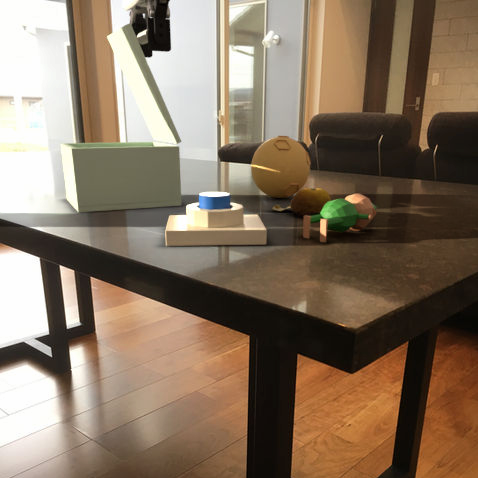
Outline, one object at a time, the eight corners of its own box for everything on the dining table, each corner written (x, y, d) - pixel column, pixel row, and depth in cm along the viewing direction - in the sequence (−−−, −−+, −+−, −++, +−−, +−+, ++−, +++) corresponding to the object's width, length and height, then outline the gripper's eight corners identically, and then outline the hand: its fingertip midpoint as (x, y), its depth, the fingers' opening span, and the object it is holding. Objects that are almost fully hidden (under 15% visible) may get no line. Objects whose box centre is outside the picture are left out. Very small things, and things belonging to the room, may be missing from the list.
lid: (125, 25, 69) (156, 11, 70) (106, 36, 80) (134, 24, 81) (177, 144, 77) (204, 130, 78) (153, 139, 88) (178, 127, 89)
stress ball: (259, 203, 83) (260, 137, 79) (244, 194, 92) (245, 134, 88) (317, 201, 85) (321, 136, 81) (297, 192, 94) (300, 134, 90)
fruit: (317, 206, 80) (319, 182, 79) (347, 216, 73) (349, 189, 71) (269, 210, 77) (269, 185, 76) (295, 220, 70) (296, 192, 69)
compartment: (78, 212, 75) (71, 148, 71) (66, 199, 85) (60, 143, 82) (181, 205, 81) (179, 146, 77) (158, 194, 91) (156, 141, 88)
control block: (165, 246, 56) (164, 213, 55) (169, 228, 65) (168, 200, 63) (266, 244, 57) (267, 212, 56) (257, 227, 65) (258, 199, 64)
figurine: (292, 236, 62) (354, 222, 69) (338, 245, 57) (400, 229, 64) (292, 198, 60) (356, 187, 67) (340, 204, 55) (403, 192, 62)
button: (199, 212, 58) (198, 196, 57) (199, 207, 61) (198, 191, 61) (231, 212, 58) (231, 196, 57) (229, 206, 61) (229, 191, 61)
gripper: (103, -72, 77) (113, 58, 83) (131, -114, 62) (140, 46, 68) (152, -65, 80) (158, 60, 86) (190, -104, 65) (194, 49, 71)
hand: (150, 54), depth 77 cm, fingers open, 9 cm apart
